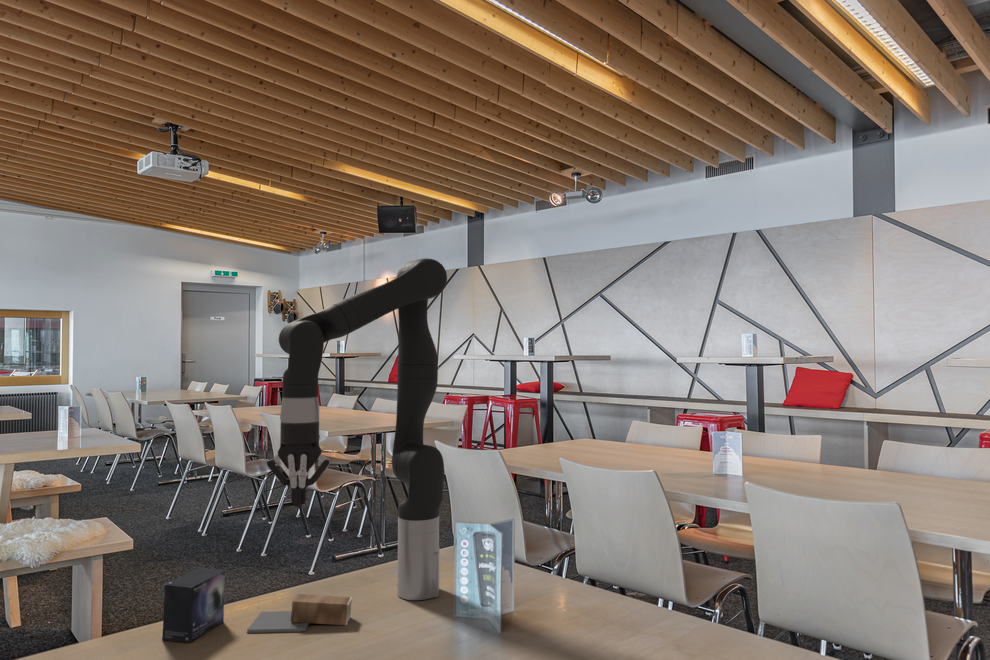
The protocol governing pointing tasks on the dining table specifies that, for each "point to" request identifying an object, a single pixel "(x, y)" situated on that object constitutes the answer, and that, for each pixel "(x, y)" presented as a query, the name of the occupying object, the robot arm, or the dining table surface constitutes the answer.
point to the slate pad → (276, 623)
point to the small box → (193, 604)
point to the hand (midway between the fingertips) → (299, 506)
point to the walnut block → (321, 609)
